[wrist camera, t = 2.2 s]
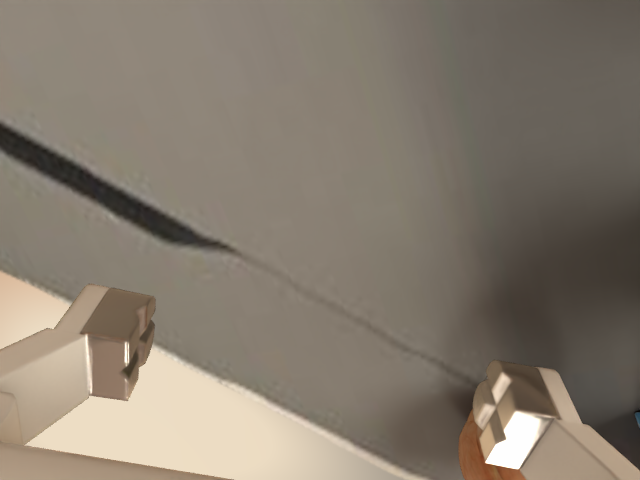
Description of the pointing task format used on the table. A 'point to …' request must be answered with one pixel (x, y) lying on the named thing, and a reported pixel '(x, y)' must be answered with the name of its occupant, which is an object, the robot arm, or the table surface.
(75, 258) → the table surface
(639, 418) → the ink box
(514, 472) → the onion
